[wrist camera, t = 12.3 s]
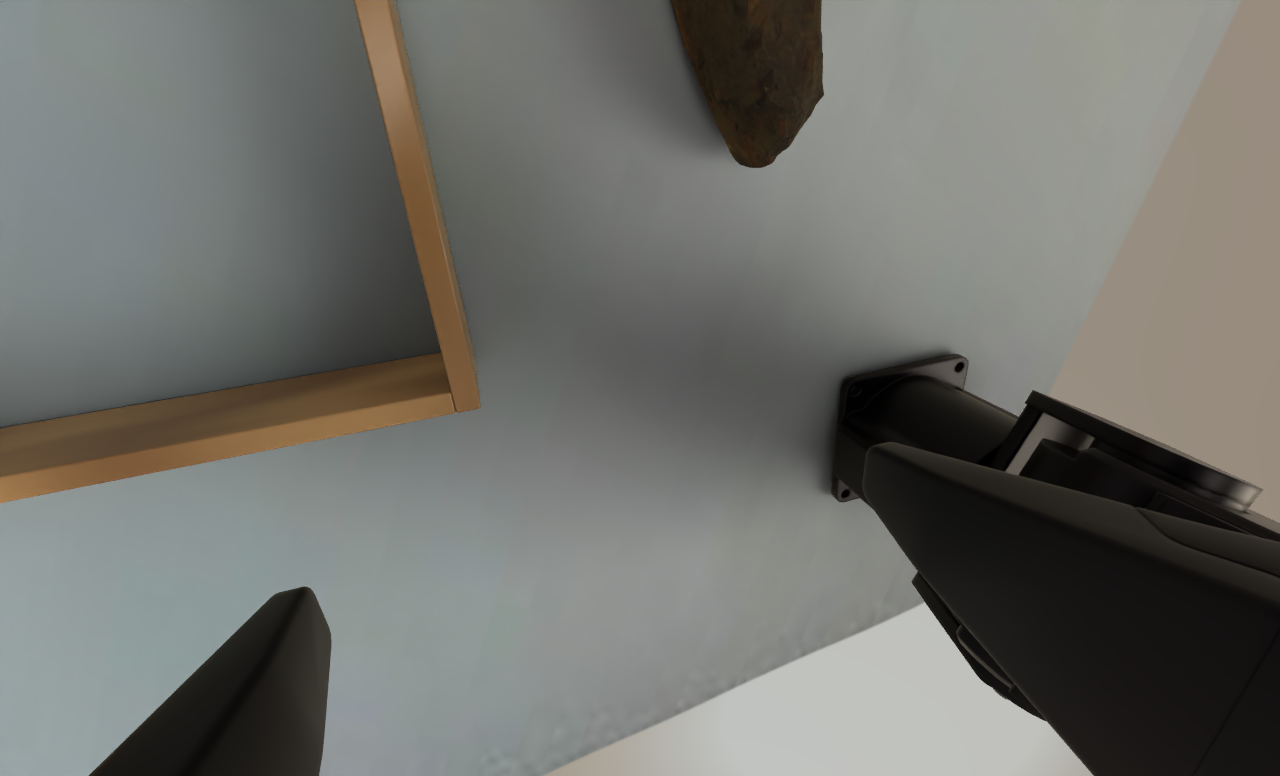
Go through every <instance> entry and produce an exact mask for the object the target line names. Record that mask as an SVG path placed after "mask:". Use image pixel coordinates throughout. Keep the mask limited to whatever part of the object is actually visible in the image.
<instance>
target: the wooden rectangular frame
mask: <svg viewBox="0 0 1280 776" xmlns="http://www.w3.org/2000/svg"><path fill="white" fill-rule="evenodd" d="M353 1H354V5H355V9H356V13H357V17H358V21H359V25H360V29H361V33H362V37H363V41H364V45H365V49H366V53H367V57H368V61H369V65H370V69H371V73H372V77H373V81H374V85H375V89H376V93H377V97H378V101H379V105H380V109H381V113H382V117H383V121H384V125H385V129H386V133H387V137H388V141H389V145H390V149H391V153H392V157H393V161H394V165H395V169H396V173H397V177H398V181H399V185H400V189H401V193H402V197H403V201H404V205H405V209H406V213H407V217H408V221H409V225H410V229H411V233H412V237H413V241H414V245H415V249H416V253H417V257H418V261H419V265H420V269H421V273H422V277H423V281H424V285H425V289H426V293H427V297H428V301H429V305H430V309H431V313H432V317H433V321H434V325H435V329H436V333H437V337H438V341H439V345H440V349H441V352H440V353H435V354H429V355H423V356H417V357H411V358H406V359H400V360H394V361H388V362H382V363H377V364H371V365H365V366H359V367H353V368H347V369H342V370H336V371H330V372H324V373H318V374H313V375H307V376H301V377H295V378H289V379H283V380H278V381H272V382H266V383H260V384H254V385H249V386H243V387H237V388H231V389H225V390H220V391H214V392H208V393H202V394H196V395H190V396H185V397H179V398H173V399H167V400H161V401H156V402H150V403H144V404H138V405H132V406H127V407H121V408H115V409H109V410H103V411H97V412H92V413H86V414H80V415H74V416H68V417H63V418H57V419H51V420H45V421H39V422H34V423H28V424H22V425H16V426H10V427H4V428H0V503H3V502H8V501H13V500H18V499H23V498H28V497H33V496H38V495H43V494H48V493H54V492H59V491H64V490H69V489H74V488H79V487H84V486H89V485H94V484H99V483H104V482H109V481H114V480H119V479H124V478H129V477H134V476H139V475H145V474H150V473H155V472H160V471H165V470H170V469H175V468H180V467H185V466H190V465H195V464H200V463H205V462H210V461H215V460H220V459H225V458H230V457H236V456H241V455H246V454H251V453H256V452H261V451H266V450H271V449H276V448H281V447H286V446H291V445H296V444H301V443H306V442H311V441H316V440H321V439H327V438H332V437H337V436H342V435H347V434H352V433H357V432H362V431H367V430H372V429H377V428H382V427H387V426H392V425H397V424H402V423H407V422H412V421H418V420H423V419H428V418H433V417H438V416H443V415H448V414H453V413H455V412H457V413H459V412H464V411H469V410H474V409H479V408H480V407H481V406H480V396H479V386H478V376H477V366H476V360H475V356H474V351H473V347H472V342H471V338H470V333H469V329H468V324H467V320H466V315H465V311H464V306H463V302H462V297H461V293H460V288H459V284H458V279H457V275H456V270H455V266H454V261H453V257H452V252H451V248H450V243H449V239H448V234H447V230H446V225H445V221H444V216H443V212H442V208H441V203H440V199H439V194H438V190H437V185H436V181H435V176H434V172H433V167H432V163H431V158H430V154H429V149H428V145H427V140H426V136H425V131H424V127H423V122H422V118H421V113H420V109H419V104H418V100H417V95H416V91H415V86H414V82H413V77H412V73H411V68H410V64H409V59H408V55H407V50H406V46H405V41H404V37H403V32H402V28H401V23H400V19H399V14H398V10H397V5H396V1H395V0H353Z"/></svg>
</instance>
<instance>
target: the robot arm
mask: <svg viewBox="0 0 1280 776" xmlns="http://www.w3.org/2000/svg"><path fill="white" fill-rule="evenodd" d="M967 369H968V360H967V358H965V357H963V356H961V355H958V354H952V355H948V356H943V357H939V358H934V359H930V360H925V361H920V362H916V363H911V364H907V365H902V366H898V367H893V368H888V369H884V370H879V371H875V372H870V373H865V374H861V375H856V376H852V377H849V378H847V379H846V380H845V381H844V382H843V384H842V385H841V389H840V400H839V412H838V423H837V430H836V442H835V453H834V465H833V480H832V491H831V492H832V495H833V497H834V498H836V499H837V500H838V501H839V502H847V501H850V500H854V499H857V498H861V499H862V500H863V501H864V502H866V503H867V504H868V505H869V506H870V507H871V508H872V509H873V510H874V511H875V512H876V513H877V515H878V516H879V518H880V519H881V520H882V522H883V523H884V525H885V526H886V528H887V529H888V530H889V532H890V533H891V535H892V536H893V537H894V539H895V540H896V542H897V543H898V544H899V546H900V547H901V549H902V550H903V552H904V553H905V554H906V556H907V557H908V559H909V560H910V561H911V563H912V564H913V565H914V567H915V568H916V569H917V570H918V572H917V574H916V575H915V577H914V578H913V580H912V584H913V585H914V586H915V588H916V589H917V591H918V592H919V594H920V595H921V596H922V598H923V599H924V601H925V603H926V604H927V605H928V607H929V608H930V610H931V611H932V612H933V614H934V615H935V617H936V618H937V620H938V621H939V622H940V624H941V625H942V627H943V628H944V629H945V631H946V632H947V634H948V635H949V636H950V638H951V639H952V641H953V642H954V643H955V645H956V646H957V648H958V649H959V651H960V652H961V653H962V655H963V656H964V658H965V659H966V660H967V661H968V663H969V664H970V666H971V667H972V669H973V670H974V672H975V673H976V674H977V676H978V677H979V678H980V679H981V680H982V681H983V682H984V683H986V684H987V685H989V686H990V687H992V688H993V689H994V690H995V691H996V692H997V693H998V694H999V695H1000V696H1002V697H1003V698H1005V699H1008V700H1010V701H1011V702H1013V703H1014V704H1016V705H1017V706H1019V707H1021V708H1022V709H1024V710H1026V711H1027V712H1029V713H1030V714H1032V715H1034V716H1036V717H1039V718H1040V719H1042V720H1045V721H1047V722H1048V723H1049V724H1050V725H1051V727H1052V728H1053V729H1054V730H1055V731H1056V732H1057V733H1058V734H1059V736H1060V737H1061V738H1062V739H1063V740H1064V742H1065V743H1066V744H1067V745H1068V746H1069V747H1070V749H1071V750H1072V751H1073V752H1074V753H1075V754H1076V756H1077V757H1078V758H1079V759H1080V760H1081V761H1082V763H1083V764H1084V765H1085V766H1086V767H1087V768H1088V770H1089V771H1090V772H1091V773H1092V774H1093V775H1094V776H1280V523H1278V522H1276V521H1274V520H1271V519H1269V518H1267V517H1265V516H1262V515H1260V514H1258V513H1256V512H1254V511H1252V510H1250V509H1248V508H1249V507H1250V505H1251V504H1252V503H1253V502H1254V500H1255V499H1256V498H1257V497H1258V495H1259V494H1260V493H1261V492H1262V490H1263V489H1261V488H1259V487H1257V486H1255V485H1253V484H1251V483H1249V482H1246V481H1244V480H1242V479H1240V478H1238V477H1235V476H1233V475H1231V474H1229V473H1227V472H1225V471H1222V470H1220V469H1218V468H1216V467H1214V466H1211V465H1209V464H1207V463H1205V462H1203V461H1201V460H1199V459H1196V458H1194V457H1192V456H1190V455H1188V454H1185V453H1183V452H1181V451H1179V450H1177V449H1175V448H1172V447H1170V446H1168V445H1166V444H1163V443H1161V442H1158V441H1156V440H1154V439H1151V438H1149V437H1147V436H1144V435H1142V434H1140V433H1137V432H1135V431H1132V430H1130V429H1128V428H1125V427H1123V426H1121V425H1118V424H1116V423H1114V422H1111V421H1109V420H1107V419H1104V418H1102V417H1099V416H1097V415H1094V414H1092V413H1089V412H1087V411H1084V410H1082V409H1079V408H1077V407H1074V406H1072V405H1069V404H1067V403H1064V402H1062V401H1059V400H1057V399H1054V398H1051V397H1049V396H1046V395H1044V394H1041V393H1039V392H1036V391H1034V390H1033V391H1032V392H1031V394H1030V396H1029V397H1028V399H1027V400H1026V402H1025V403H1026V404H1027V406H1026V407H1025V409H1024V410H1023V412H1022V413H1021V415H1020V417H1018V416H1016V415H1014V414H1012V413H1010V412H1008V411H1006V410H1004V409H1002V408H1000V407H998V406H996V405H994V404H992V403H990V402H987V401H985V400H983V399H981V398H979V397H977V396H975V395H973V394H971V393H969V392H967V391H965V390H963V389H964V384H965V379H966V374H967ZM854 386H855V388H854V390H853V391H851V390H852V388H853V387H854ZM843 490H844V491H843ZM330 656H331V633H330V629H329V626H328V624H327V622H326V619H325V617H324V615H323V612H322V610H321V608H320V605H319V603H318V601H317V599H316V596H315V594H314V592H313V591H312V590H311V589H310V588H308V587H300V588H296V589H292V590H288V591H284V592H280V593H277V594H275V595H274V596H272V597H271V598H270V599H269V600H268V601H267V602H266V603H265V604H264V605H263V606H262V607H261V608H260V609H259V610H258V611H257V612H256V613H255V614H254V615H253V616H252V617H251V618H250V619H249V620H248V621H246V622H245V623H244V624H243V625H242V626H241V627H240V628H239V629H238V630H237V631H236V632H235V633H234V634H233V635H232V636H231V637H230V638H229V639H228V640H227V641H226V642H225V643H224V644H223V645H222V646H221V647H220V648H219V649H218V650H217V651H216V652H215V653H214V654H213V655H212V656H211V657H210V658H209V659H208V660H207V661H206V662H205V663H204V664H203V665H202V666H200V667H199V668H198V669H197V670H196V671H195V672H194V673H193V674H192V675H191V676H190V677H189V678H188V679H187V680H186V681H185V682H184V683H183V684H182V685H181V686H180V687H179V688H178V689H177V690H176V691H175V692H174V693H173V694H172V695H171V696H170V697H169V698H168V699H167V700H166V701H165V702H164V703H163V704H162V705H161V706H160V707H159V708H158V709H157V710H155V711H154V712H153V713H152V714H151V715H150V716H149V717H148V718H147V719H146V720H145V721H144V722H143V723H142V724H141V725H140V726H139V727H138V728H137V729H136V730H135V731H134V732H133V733H132V734H131V735H130V736H129V737H128V738H127V739H126V740H125V741H124V742H123V743H122V744H121V745H120V746H119V747H118V748H117V749H116V750H115V751H114V752H113V753H112V754H110V755H109V756H108V757H107V758H106V759H105V760H104V761H103V762H102V763H101V764H100V765H99V766H98V767H97V768H96V769H95V770H94V771H93V772H92V773H91V774H90V775H89V776H319V772H320V766H321V760H322V753H323V744H324V733H325V720H326V707H327V695H328V682H329V669H330Z"/></svg>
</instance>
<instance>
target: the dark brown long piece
mask: <svg viewBox="0 0 1280 776" xmlns="http://www.w3.org/2000/svg"><path fill="white" fill-rule="evenodd" d="M821 1H822V0H671V2H672V6H673V10H674V13H675V17H676V20H677V23H678V26H679V30H680V33H681V36H682V39H683V42H684V46H685V48H686V51H687V53H688V56H689V59H690V61H691V64H692V66H693V68H694V71H695V74H696V76H697V79H698V81H699V84H700V86H701V89H702V91H703V94H704V96H705V99H706V101H707V104H708V106H709V108H710V111H711V113H712V115H713V117H714V120H715V122H716V124H717V126H718V128H719V129H720V131H721V133H722V135H723V137H724V139H725V141H726V144H727V146H728V148H729V151H730V153H731V154H732V156H733V157H734V159H735V160H736V161H737V162H738V163H739V164H740V165H743V166H746V167H750V168H762V167H765V166H767V165H770V164H772V163H773V162H774V160H775V159H776V157H777V155H778V154H780V153H781V152H782V151H784V150H786V149H787V148H788V147H789V146H790V145H791V143H792V141H793V140H794V138H795V137H796V135H797V133H798V132H799V130H800V129H801V127H802V126H803V125H804V123H805V122H806V121H807V119H808V118H809V117H810V115H811V114H812V112H813V110H814V107H815V105H816V104H817V103H818V101H819V100H820V99H821V98H822V97H823V95H824V92H823V84H822V74H823V53H822V33H821Z"/></svg>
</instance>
